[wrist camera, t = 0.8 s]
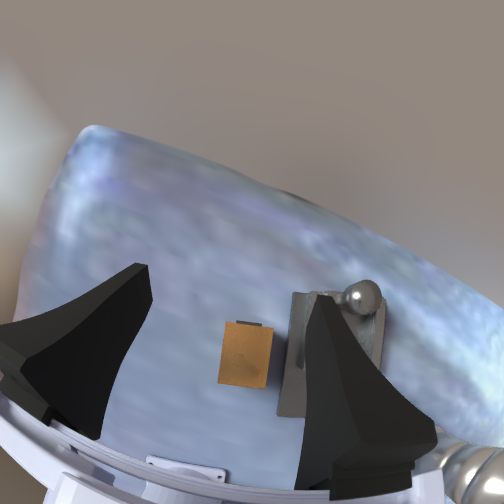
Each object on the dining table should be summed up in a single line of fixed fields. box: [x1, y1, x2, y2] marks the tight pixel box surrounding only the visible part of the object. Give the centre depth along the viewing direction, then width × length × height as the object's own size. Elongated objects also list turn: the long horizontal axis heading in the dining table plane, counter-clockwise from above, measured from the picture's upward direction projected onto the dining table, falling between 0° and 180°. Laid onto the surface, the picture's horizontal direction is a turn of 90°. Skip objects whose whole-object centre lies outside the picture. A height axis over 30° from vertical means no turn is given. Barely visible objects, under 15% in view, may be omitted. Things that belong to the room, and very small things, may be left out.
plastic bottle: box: [411, 425, 504, 504], centre depth 12 cm, size 6×7×20 cm
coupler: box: [276, 280, 386, 417], centre depth 22 cm, size 13×10×6 cm
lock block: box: [218, 321, 274, 389], centre depth 22 cm, size 5×4×5 cm
